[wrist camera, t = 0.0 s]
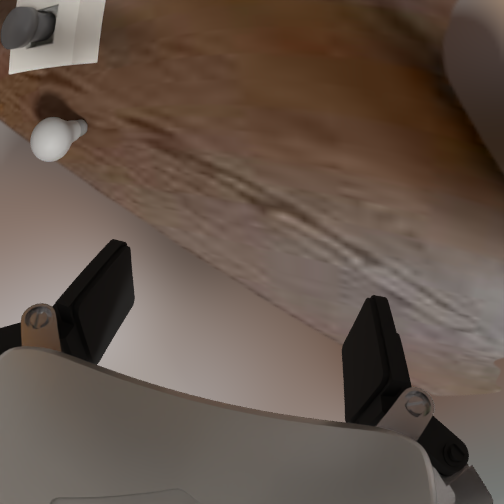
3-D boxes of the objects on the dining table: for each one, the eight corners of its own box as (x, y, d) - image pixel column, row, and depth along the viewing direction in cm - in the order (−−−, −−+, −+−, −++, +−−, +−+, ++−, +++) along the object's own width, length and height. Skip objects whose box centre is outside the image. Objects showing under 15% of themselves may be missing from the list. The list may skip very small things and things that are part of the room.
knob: (34, 12, 26) (3, 12, 20) (63, 4, 26) (31, 1, 20) (30, 48, 29) (-2, 52, 24) (57, 43, 29) (25, 45, 23)
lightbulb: (92, 101, 38) (43, 115, 29) (104, 137, 41) (58, 159, 32) (65, 115, 40) (17, 133, 30) (76, 149, 43) (31, 173, 33)
